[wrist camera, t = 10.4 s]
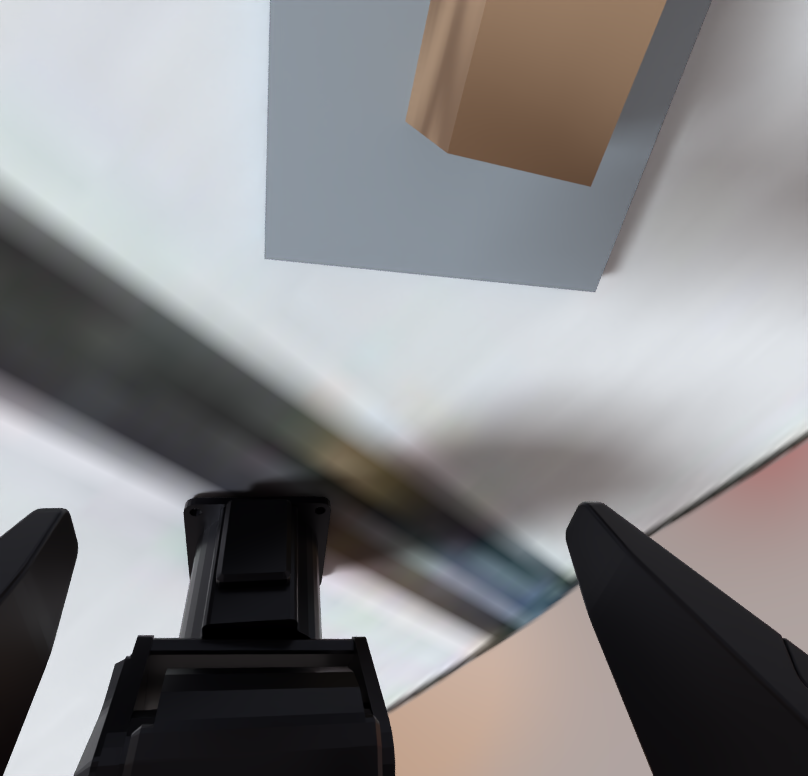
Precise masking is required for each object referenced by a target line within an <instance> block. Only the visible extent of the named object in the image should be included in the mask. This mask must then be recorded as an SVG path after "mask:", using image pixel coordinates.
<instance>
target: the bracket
mask: <svg viewBox="0 0 808 776" xmlns="http://www.w3.org/2000/svg"><path fill="white" fill-rule="evenodd" d="M711 1H712V0H667V1H666V4H665V6H664V9H663V11H662V13H661V16H660V18H659V21H658V23H657V26H656V28H655V31H654V33H653V36H652V38H651V40H650V43H649V45H648V48H647V50H646V53H645V55H644V58H643V60H642V63H641V65H640V67H639V70H638V72H637V75H636V77H635V80H634V82H633V85H632V87H631V90H630V92H629V94H628V97H627V99H626V102H625V104H624V107H623V109H622V112H621V114H620V117H619V119H618V121H617V124H616V126H615V129H614V131H613V134H612V136H611V139H610V141H609V143H608V146H607V148H606V151H605V153H604V156H603V158H602V161H601V163H600V166H599V168H598V170H597V173H596V175H595V178H594V180H593V183H592V185H591V187H589V186H585V185H580V184H576V183H572V182H568V181H563V180H559V179H555V178H551V177H546V176H542V175H538V174H534V173H529V172H525V171H521V170H517V169H512V168H508V167H504V166H500V165H495V164H491V163H487V162H482V161H478V160H474V159H470V158H465V157H461V156H457V155H453V154H448V153H446V152H445V151H444V150H442V149H441V148H440V147H438V146H437V145H436V144H434V143H433V142H432V141H430V140H429V139H428V138H426V137H425V136H424V135H423V134H421V133H420V132H419V131H417V130H416V129H415V128H413V127H412V126H411V125H409V124H408V123H407V122H405V120H406V115H407V111H408V106H409V101H410V96H411V91H412V87H413V82H414V77H415V72H416V68H417V63H418V58H419V53H420V48H421V44H422V39H423V34H424V29H425V24H426V20H427V15H428V10H429V5H430V0H270V27H269V74H268V120H267V166H266V213H265V259H271V260H281V261H291V262H301V263H311V264H321V265H331V266H341V267H351V268H360V269H370V270H380V271H390V272H400V273H410V274H420V275H430V276H440V277H450V278H460V279H470V280H480V281H489V282H499V283H509V284H519V285H529V286H539V287H549V288H559V289H569V290H579V291H589V292H595V291H596V289H597V286H598V284H599V281H600V279H601V276H602V274H603V271H604V269H605V266H606V264H607V261H608V259H609V256H610V254H611V251H612V249H613V246H614V244H615V241H616V239H617V236H618V234H619V231H620V229H621V226H622V224H623V221H624V219H625V216H626V214H627V211H628V209H629V206H630V204H631V201H632V199H633V196H634V194H635V191H636V189H637V186H638V184H639V181H640V179H641V176H642V174H643V171H644V169H645V166H646V164H647V161H648V159H649V156H650V154H651V151H652V149H653V146H654V144H655V141H656V139H657V136H658V134H659V131H660V129H661V126H662V124H663V121H664V119H665V116H666V114H667V111H668V109H669V106H670V104H671V101H672V99H673V96H674V94H675V91H676V89H677V86H678V84H679V81H680V79H681V76H682V74H683V71H684V69H685V66H686V64H687V61H688V59H689V56H690V54H691V51H692V49H693V46H694V44H695V41H696V39H697V36H698V34H699V31H700V29H701V26H702V24H703V21H704V19H705V16H706V14H707V11H708V9H709V6H710V4H711Z"/></svg>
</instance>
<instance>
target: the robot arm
mask: <svg viewBox="0 0 808 776" xmlns="http://www.w3.org/2000/svg"><path fill="white" fill-rule="evenodd" d="M317 507H322V508H317ZM195 508H196V509H199V510H196V509H195ZM330 512H331V507H330V501H329V500H328V499H327V498H325V497H243V498H192V499H190V500H188V501H187V502H186V504H185V508H184V523H185V534H186V544H187V555H188V566H189V576H190V583H189V589H188V594H187V599H186V604H185V609H184V614H183V619H182V625H181V630H180V635H179V638H154V635H138V637H137V640H136V643H135V646H134V650H133V653H132V654H131V655H130V656H126V658H125V659H124V660H122V661H120V662H118V663H116V664H115V666H114V670H113V673H112V677H111V680H110V684H109V687H108V691H107V694H106V697H105V701H104V704H103V707H102V710H101V713H100V715H99V718H98V720H97V723H96V725H95V727H94V730H93V732H92V734H91V736H90V739H89V741H88V743H87V746H86V748H85V750H84V753H83V755H82V757H81V760H80V762H79V764H78V766H77V769H76V771H75V773H74V776H395V755H394V744H393V736H392V730H391V726H390V721H389V717H388V714H387V710H386V707H385V703H384V700H383V696H382V693H381V689H380V686H379V682H378V678H377V675H376V671H375V668H374V664H373V661H372V657H371V654H370V650H369V647H368V643H367V639H366V637H352V639H322V631H321V608H320V584H321V581H322V574H323V566H324V558H325V551H326V543H327V535H328V528H329V520H330ZM566 542H567V546H568V549H569V552H570V556H571V559H572V563H573V566H574V569H575V573H576V576H577V579H578V583H579V586H580V590H581V593H582V596H583V600H584V603H585V606H586V609H587V611H588V615H589V618H590V620H591V623H592V626H593V628H594V631H595V633H596V636H597V638H598V641H599V643H600V645H601V648H602V650H603V653H604V655H605V658H606V660H607V663H608V665H609V667H610V670H611V672H612V675H613V678H614V679H615V682H616V685H617V687H618V690H619V692H620V695H621V697H622V700H623V702H624V705H625V707H626V709H627V712H628V714H629V717H630V719H631V722H632V724H633V727H634V729H635V732H636V734H637V737H638V739H639V742H640V744H641V747H642V749H643V752H644V754H645V756H646V759H647V761H648V764H649V766H650V769H651V771H652V773H653V776H808V655H807V654H806V653H805V652H803V651H802V650H801V649H799V648H798V647H797V646H795V645H794V644H792V643H791V642H790V641H789V640H787V639H785V638H782V636H781V635H780V634H779V633H778V632H776V631H775V630H774V629H772V628H771V627H770V626H768V625H767V624H766V623H764V622H763V621H762V620H760V619H759V618H758V617H756V616H755V615H753V614H752V613H751V612H749V611H748V610H747V609H745V608H744V607H743V606H741V605H740V604H739V603H737V602H736V601H735V600H733V599H732V598H731V597H729V596H728V595H727V594H725V593H724V592H723V591H721V590H720V589H718V588H717V587H716V586H714V585H713V584H712V583H710V582H709V581H708V580H706V579H705V578H704V577H702V576H701V575H700V574H698V573H697V572H696V571H694V570H693V569H692V568H690V567H689V566H687V565H686V564H685V563H683V562H682V561H681V560H679V559H678V558H677V557H675V556H674V555H672V554H671V553H670V552H669V551H667V550H666V549H665V548H663V547H662V546H661V545H659V544H658V543H656V542H655V541H654V540H652V539H651V538H650V537H648V536H647V535H646V534H644V533H643V532H642V531H640V530H639V529H638V528H636V527H635V526H634V525H632V524H631V523H630V522H628V521H627V520H625V519H624V518H623V517H621V516H620V515H619V514H617V513H616V512H615V511H613V510H612V509H611V508H609V507H608V506H607V505H605V504H604V503H601V502H582V503H581V504H579V506H578V507H577V509H576V511H575V513H574V515H573V517H572V519H571V521H570V523H569V525H568V527H567V529H566ZM77 554H78V542H77V538H76V534H75V530H74V527H73V523H72V519H71V516H70V513H69V511H68V510H66V509H63V508H42V509H37V510H35V511H33V512H31V513H30V514H29V515H27V516H26V517H25V518H24V519H22V520H21V521H20V522H19V523H17V524H16V525H15V526H14V527H12V528H11V529H10V530H8V531H7V532H6V533H5V534H3V535H2V536H1V537H0V776H3V774H4V772H5V769H6V766H7V764H8V761H9V759H10V756H11V754H12V751H13V749H14V746H15V744H16V741H17V739H18V736H19V734H20V731H21V728H22V726H23V723H24V721H25V718H26V716H27V713H28V711H29V708H30V706H31V703H32V701H33V698H34V696H35V693H36V691H37V688H38V685H39V683H40V680H41V678H42V675H43V673H44V670H45V668H46V665H47V662H48V659H49V657H50V654H51V651H52V647H53V644H54V640H55V637H56V633H57V629H58V626H59V622H60V618H61V615H62V611H63V607H64V603H65V600H66V596H67V592H68V589H69V585H70V581H71V577H72V574H73V570H74V566H75V563H76V559H77Z"/></svg>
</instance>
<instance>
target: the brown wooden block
mask: <svg viewBox="0 0 808 776" xmlns="http://www.w3.org/2000/svg"><path fill="white" fill-rule="evenodd" d="M666 1H667V0H430V5H429V10H428V15H427V20H426V24H425V29H424V34H423V39H422V44H421V48H420V53H419V58H418V63H417V68H416V72H415V77H414V82H413V87H412V91H411V96H410V101H409V106H408V111H407V115H406V120H405V122H407V123H408V124H409V125H411V126H412V127H413V128H415V129H416V130H417V131H419V132H420V133H421V134H423V135H424V136H425V137H426V138H428V139H429V140H430V141H432V142H433V143H434V144H436V145H437V146H438V147H440V148H441V149H442V150H444V151H445V152H446V153H448V154H453V155H457V156H461V157H465V158H470V159H474V160H478V161H482V162H487V163H491V164H495V165H500V166H504V167H508V168H512V169H517V170H521V171H525V172H529V173H534V174H538V175H542V176H546V177H551V178H555V179H559V180H563V181H568V182H572V183H576V184H580V185H585V186H589V187H591V185H592V183H593V180H594V178H595V175H596V173H597V170H598V168H599V166H600V163H601V161H602V158H603V156H604V153H605V151H606V148H607V146H608V143H609V141H610V139H611V136H612V134H613V131H614V129H615V126H616V124H617V121H618V119H619V117H620V114H621V112H622V109H623V107H624V104H625V102H626V99H627V97H628V94H629V92H630V90H631V87H632V85H633V82H634V80H635V77H636V75H637V72H638V70H639V67H640V65H641V63H642V60H643V58H644V55H645V53H646V50H647V48H648V45H649V43H650V40H651V38H652V36H653V33H654V31H655V28H656V26H657V23H658V21H659V18H660V16H661V13H662V11H663V9H664V6H665V4H666Z"/></svg>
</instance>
